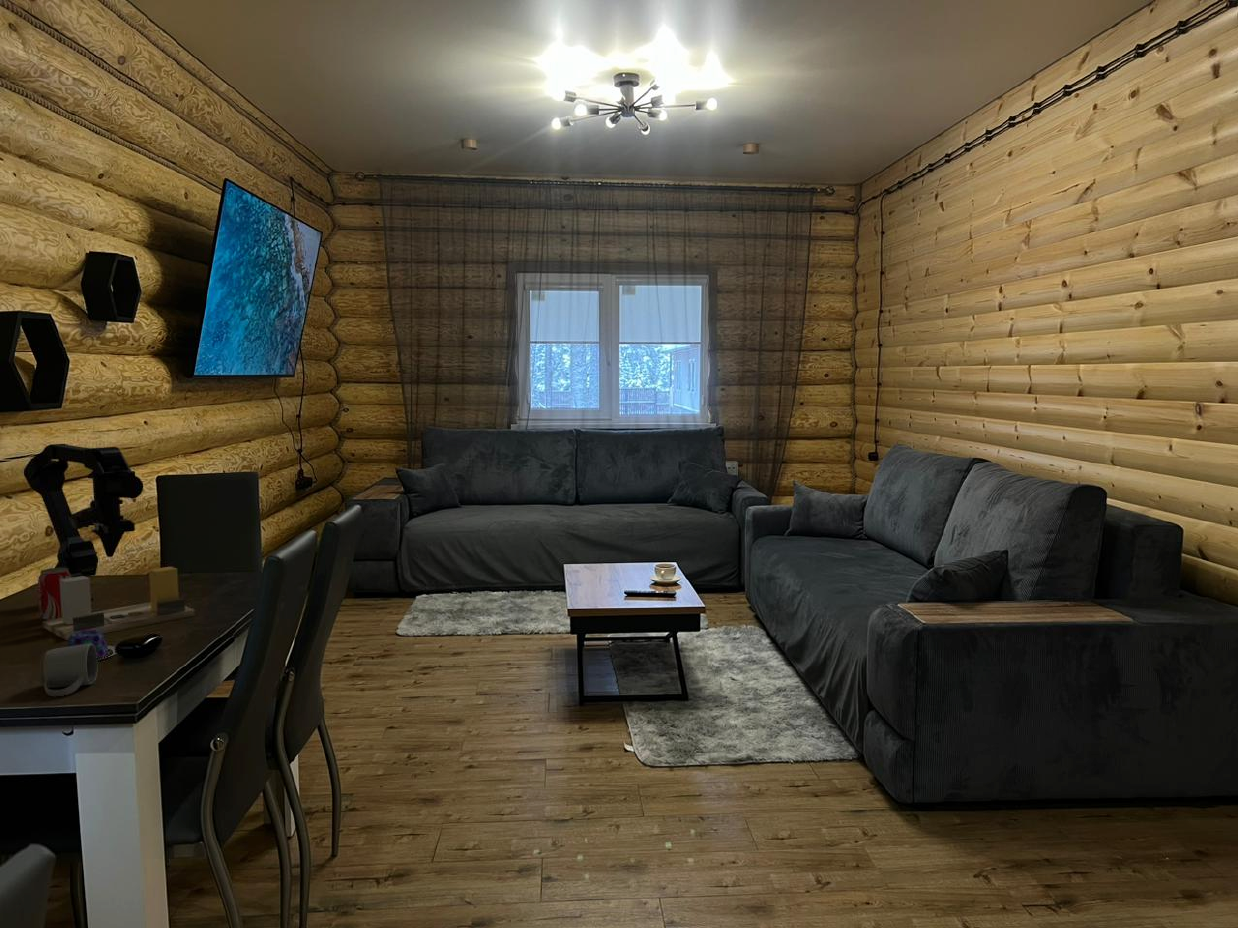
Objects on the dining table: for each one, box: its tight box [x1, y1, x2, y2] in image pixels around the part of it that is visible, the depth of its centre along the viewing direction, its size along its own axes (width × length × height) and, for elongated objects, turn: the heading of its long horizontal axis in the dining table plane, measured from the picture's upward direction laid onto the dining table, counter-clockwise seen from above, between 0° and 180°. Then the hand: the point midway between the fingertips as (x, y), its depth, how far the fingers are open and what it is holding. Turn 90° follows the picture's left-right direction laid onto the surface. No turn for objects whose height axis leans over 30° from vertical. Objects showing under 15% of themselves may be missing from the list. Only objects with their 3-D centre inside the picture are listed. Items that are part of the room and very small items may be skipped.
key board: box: [42, 597, 195, 641], centre depth 209 cm, size 16×28×4 cm, turn 139°
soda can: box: [37, 567, 72, 621], centre depth 212 cm, size 7×7×12 cm
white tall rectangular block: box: [60, 576, 93, 625], centre depth 203 cm, size 4×5×10 cm
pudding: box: [66, 630, 117, 661], centre depth 182 cm, size 12×12×5 cm
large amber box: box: [148, 566, 180, 612], centre depth 213 cm, size 4×5×10 cm
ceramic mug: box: [39, 643, 99, 698], centre depth 163 cm, size 11×8×8 cm
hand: (109, 556), depth 222 cm, fingers closed
